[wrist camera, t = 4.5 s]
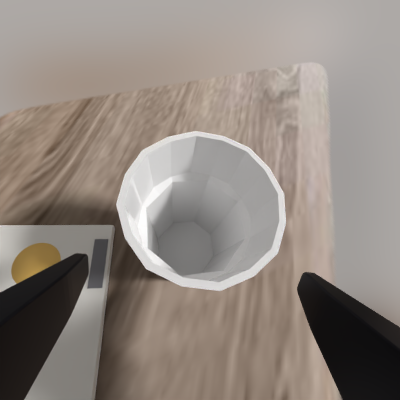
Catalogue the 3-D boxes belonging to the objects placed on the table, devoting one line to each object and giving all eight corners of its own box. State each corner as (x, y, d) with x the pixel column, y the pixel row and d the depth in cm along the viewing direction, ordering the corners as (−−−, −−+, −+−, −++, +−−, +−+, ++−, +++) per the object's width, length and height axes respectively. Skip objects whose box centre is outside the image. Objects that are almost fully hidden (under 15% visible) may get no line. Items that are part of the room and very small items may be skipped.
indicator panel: (76, 560, 11) (68, 582, 10) (-161, 612, 10) (-193, 643, 9) (115, 227, 18) (112, 224, 17) (-18, 228, 17) (-27, 224, 16)
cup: (212, 301, 17) (277, 314, 7) (133, 278, 17) (83, 257, 7) (228, 225, 20) (291, 157, 10) (161, 205, 20) (154, 114, 10)
